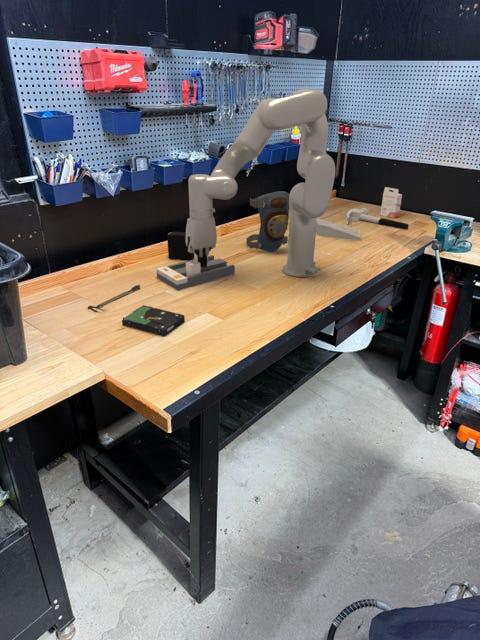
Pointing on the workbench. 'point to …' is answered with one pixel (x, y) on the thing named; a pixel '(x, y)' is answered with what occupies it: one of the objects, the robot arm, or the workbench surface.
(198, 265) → the tab near
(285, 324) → the workbench surface
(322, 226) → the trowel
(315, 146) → the robot arm
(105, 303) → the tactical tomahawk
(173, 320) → the disk drive
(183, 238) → the electronic device
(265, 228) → the knee pad
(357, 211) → the claw hammer
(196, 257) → the tab far
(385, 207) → the ink cartridge box
